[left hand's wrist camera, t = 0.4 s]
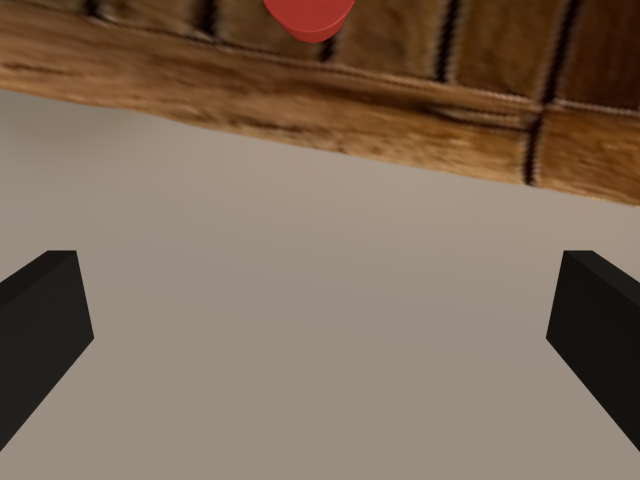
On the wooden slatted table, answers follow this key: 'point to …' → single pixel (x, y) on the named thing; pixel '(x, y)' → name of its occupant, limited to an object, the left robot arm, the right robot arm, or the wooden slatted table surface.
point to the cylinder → (310, 17)
